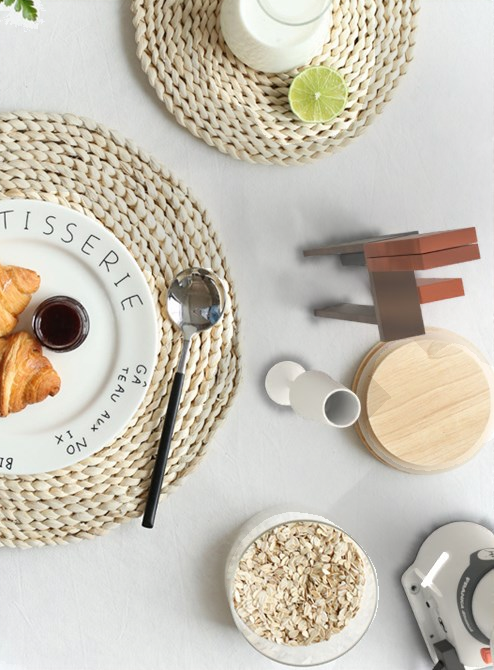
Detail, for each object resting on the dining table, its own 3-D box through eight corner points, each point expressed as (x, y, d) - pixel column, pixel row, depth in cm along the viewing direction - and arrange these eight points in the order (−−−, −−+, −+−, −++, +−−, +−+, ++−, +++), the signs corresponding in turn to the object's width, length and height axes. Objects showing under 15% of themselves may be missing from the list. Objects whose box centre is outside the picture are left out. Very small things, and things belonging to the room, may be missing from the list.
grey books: (380, 258, 124) (423, 255, 109) (342, 266, 123) (379, 264, 109) (376, 236, 124) (418, 230, 109) (338, 243, 123) (375, 239, 109)
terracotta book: (416, 293, 124) (465, 295, 109) (378, 301, 124) (422, 304, 109) (413, 278, 124) (462, 277, 109) (375, 285, 124) (418, 286, 109)
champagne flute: (255, 382, 123) (302, 407, 99) (288, 351, 123) (343, 368, 99) (285, 414, 123) (339, 447, 99) (318, 384, 124) (380, 409, 100)
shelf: (424, 332, 99) (496, 343, 83) (376, 342, 99) (439, 354, 82) (406, 234, 99) (475, 225, 82) (358, 243, 99) (417, 236, 82)
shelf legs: (346, 309, 124) (417, 317, 99) (314, 316, 123) (377, 325, 99) (334, 244, 123) (402, 235, 99) (302, 250, 123) (362, 243, 99)
